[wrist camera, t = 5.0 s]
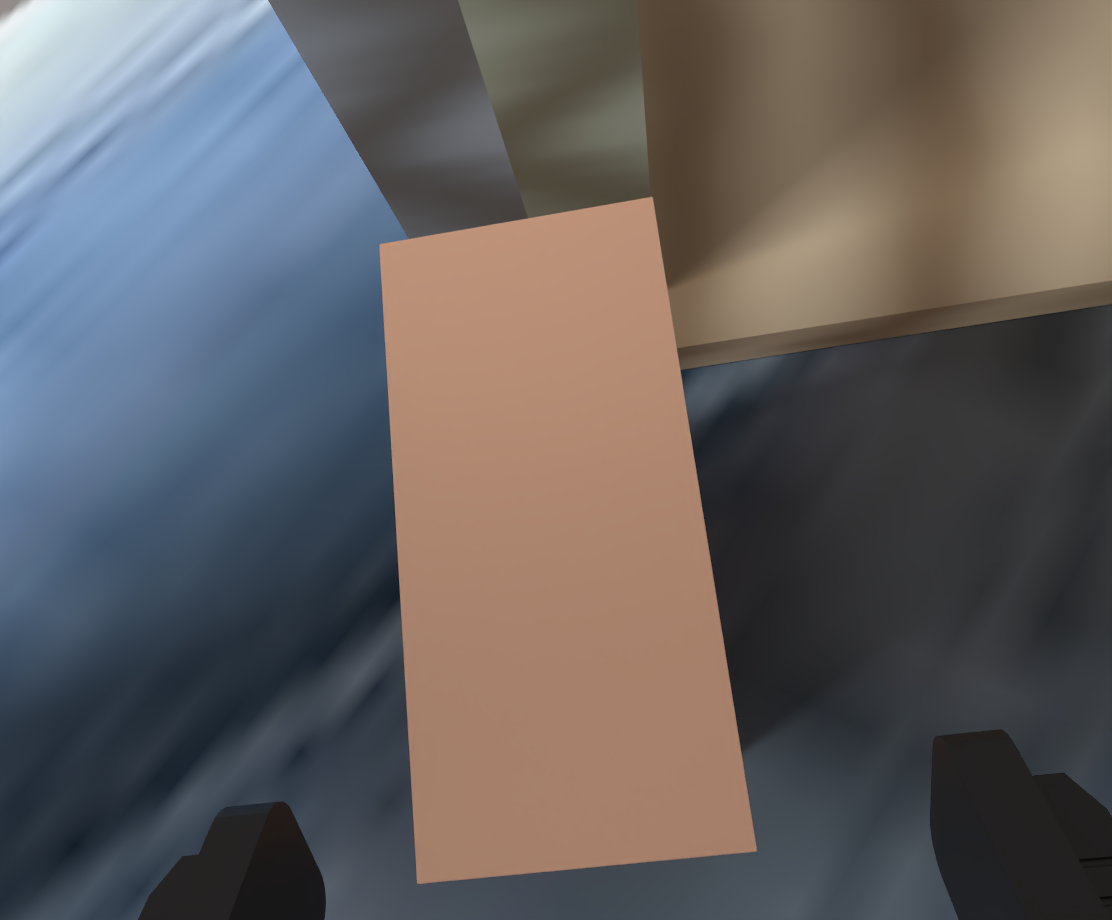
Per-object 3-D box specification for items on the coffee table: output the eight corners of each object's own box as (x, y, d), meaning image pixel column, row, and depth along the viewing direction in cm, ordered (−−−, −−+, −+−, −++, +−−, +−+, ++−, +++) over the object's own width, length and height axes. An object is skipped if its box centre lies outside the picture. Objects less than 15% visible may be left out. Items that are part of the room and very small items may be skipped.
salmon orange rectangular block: (565, 785, 21) (417, 883, 9) (533, 476, 23) (379, 244, 11) (716, 769, 20) (756, 850, 9) (668, 457, 22) (652, 196, 11)
